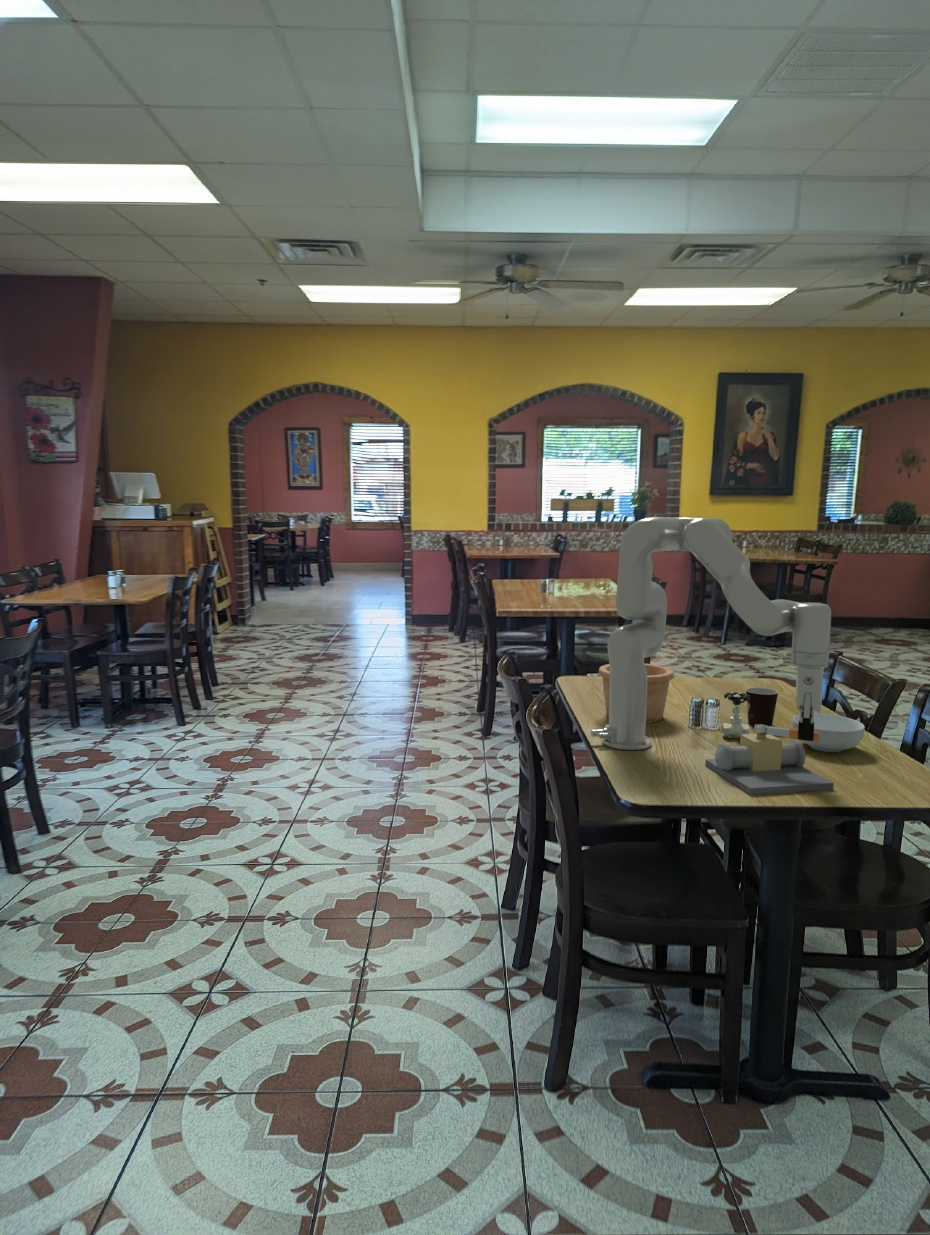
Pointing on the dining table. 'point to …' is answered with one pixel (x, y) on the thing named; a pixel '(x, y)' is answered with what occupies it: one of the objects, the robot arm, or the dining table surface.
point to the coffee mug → (761, 706)
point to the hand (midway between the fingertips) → (805, 739)
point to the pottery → (655, 689)
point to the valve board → (773, 779)
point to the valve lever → (781, 731)
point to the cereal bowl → (834, 732)
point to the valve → (735, 717)
